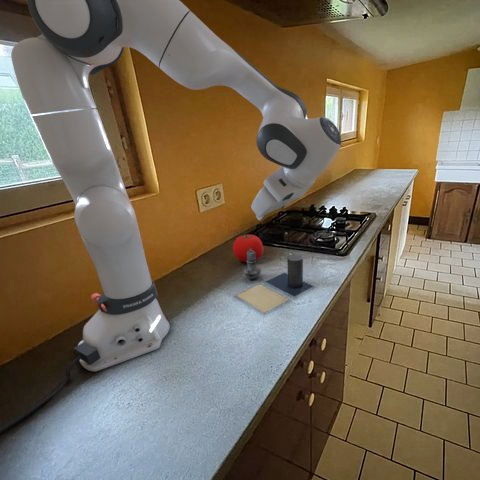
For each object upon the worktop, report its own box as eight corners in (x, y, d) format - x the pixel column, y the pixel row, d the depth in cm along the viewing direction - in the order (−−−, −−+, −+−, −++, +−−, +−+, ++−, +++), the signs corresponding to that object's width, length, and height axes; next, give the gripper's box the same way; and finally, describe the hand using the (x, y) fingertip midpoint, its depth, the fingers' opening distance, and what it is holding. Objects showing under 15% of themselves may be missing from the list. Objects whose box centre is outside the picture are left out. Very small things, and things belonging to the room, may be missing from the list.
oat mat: (264, 314, 87) (264, 312, 87) (236, 296, 97) (235, 295, 96) (288, 300, 93) (288, 299, 93) (259, 285, 103) (259, 284, 102)
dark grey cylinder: (295, 290, 98) (295, 262, 93) (284, 284, 101) (284, 257, 97) (305, 284, 101) (306, 257, 96) (295, 279, 104) (295, 253, 99)
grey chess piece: (259, 284, 103) (256, 251, 98) (242, 282, 104) (239, 251, 99) (263, 276, 108) (261, 245, 103) (247, 275, 110) (244, 244, 104)
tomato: (254, 252, 128) (253, 228, 123) (269, 261, 119) (267, 236, 115) (229, 259, 123) (226, 234, 118) (242, 269, 114) (239, 243, 109)
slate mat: (294, 297, 95) (294, 296, 94) (265, 282, 104) (265, 281, 104) (313, 287, 100) (313, 286, 100) (284, 274, 109) (284, 272, 109)
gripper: (308, 162, 84) (284, 194, 94) (260, 180, 70) (238, 215, 81) (323, 179, 83) (297, 209, 94) (277, 200, 70) (253, 233, 81)
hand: (269, 212), depth 87 cm, fingers open, 8 cm apart
